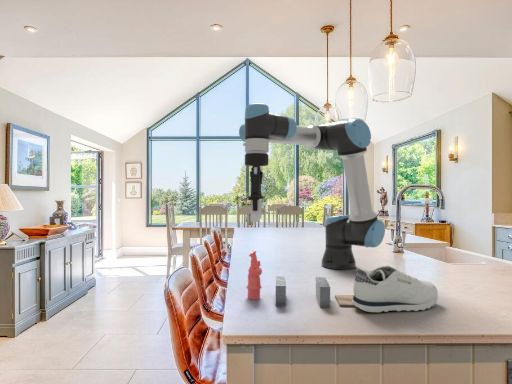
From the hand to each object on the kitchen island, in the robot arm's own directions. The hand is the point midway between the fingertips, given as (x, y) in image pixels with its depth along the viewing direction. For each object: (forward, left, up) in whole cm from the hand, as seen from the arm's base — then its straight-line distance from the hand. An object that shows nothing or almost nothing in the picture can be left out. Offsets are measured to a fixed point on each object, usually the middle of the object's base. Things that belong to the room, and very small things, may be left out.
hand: (256, 220), depth 116 cm
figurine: (0, -1, -25) cm, 25 cm away
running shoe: (+6, +42, -25) cm, 49 cm away
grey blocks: (+2, +14, -25) cm, 29 cm away
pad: (+2, +30, -25) cm, 39 cm away
